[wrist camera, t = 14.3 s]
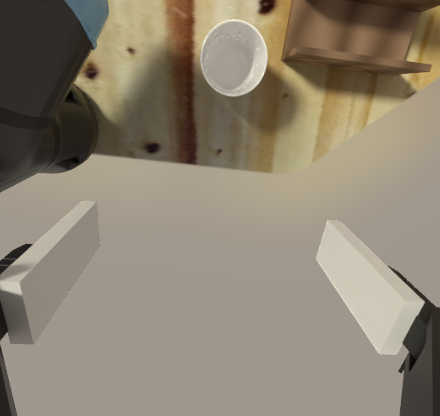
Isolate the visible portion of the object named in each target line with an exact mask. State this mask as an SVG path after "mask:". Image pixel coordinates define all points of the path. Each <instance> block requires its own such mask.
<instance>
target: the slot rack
mask: <svg viewBox="0 0 440 416" xmlns="http://www.w3.org/2000/svg"><path fill="white" fill-rule="evenodd" d="M439 5H440V0H292V3H291V8H290V14H289V19H288V25H287V31H286V36H285V42H284V47H283V53H282V59H281V60H283V61H290V62H298V63H305V64H312V65H319V66H327V67H334V68H341V69H349V70H356V71H363V72H371V73H378V74H385V75H399V74H408V73H420V72H430V69H431V66H432V65H430V64H423V63H416V62H409V61H404V58H405V55H406V52H407V49H408V46H409V43H410V40H411V37H412V34H413V31H414V28H415V25H416V22H417V19H418V17H419V14H420V12H423V11H425V10H428V9H431V8H434V7H437V6H439Z"/></svg>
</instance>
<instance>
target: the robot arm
mask: <svg viewBox="0 0 440 416" xmlns="http://www.w3.org/2000/svg"><path fill="white" fill-rule="evenodd" d="M108 14H109V6H108V0H0V192H2V191H4V190H6V189H8V188H10V187H12V186H14V185H15V184H17V183H19V182H21V181H23V180H25V179H27V178H29V177H31V176H33V175H35V174H37V173H61V172H65V171H69V170H71V169H73V168H75V167H77V166H78V165H80V164H82V163H83V162H84V161H85V160H87V159H88V158H89V156H90V155H91V154H92V152H93V150H94V148H95V146H96V142H97V137H98V126H97V120H96V116H95V113H94V111H93V108H92V106H91V105H90V103H89V101H88V100H87V98H86V97H85V95H84V94H83V93H82V92H81V91H80V90H79V89H78V88H77V87H76V86H75V85H74V82H75V80H76V78H77V76H78V74H79V73H80V71H81V69H82V67H83V65H84V63H85V62H86V60H87V58H88V56H89V54H90V52H91V50H95V49H96V47H97V42H96V41H97V39H98V37H99V35H100V33H101V31H102V29H103V27H104V25H105V22H106V20H107V18H108ZM99 246H100V241H99V227H98V214H97V202H93V201H81V202H80V203H79V204H77V206H75V207H74V208H73V209H72V210H71V211H70V212H69V213H68V214H66V215H65V216H64V217H63V218H62V219H61V220H60V221H59V222H58V223H57V224H55V225H54V226H53V227H52V228H51V229H50V230H49V231H48V232H47V233H46V234H44V235H43V236H42V237H41V238H40V239H39V240H38V241H37V242H36V243H34V244H25V245H23V246H21V247H19V248H16V249H14V250H13V251H11V252H10V253H9V254H8V255H7V256H5V257H4V259H2V260H1V261H0V340H1V339H2V338H3V337H4V335H5V334H6V333H7V332H8V335H9V339H10V343H11V344H34V343H35V342H36V340H37V339H38V337H39V336H40V334H41V333H42V331H43V330H44V328H45V327H46V325H47V324H48V322H49V321H50V319H51V318H52V316H53V315H54V313H55V312H56V310H57V309H58V307H59V306H60V304H61V303H62V301H63V300H64V298H65V297H66V295H67V294H68V292H69V291H70V289H71V288H72V286H73V285H74V283H75V282H76V280H77V279H78V277H79V276H80V274H81V273H82V271H83V270H84V268H85V267H86V265H87V264H88V262H89V261H90V259H91V258H92V256H93V255H94V253H95V252H96V250H97V249H98V247H99ZM316 260H317V262H318V263H319V265H320V266H321V268H322V269H323V270H324V272H325V274H326V275H327V276H328V278H329V280H330V281H331V283H332V284H333V286H334V287H335V289H336V290H337V292H338V293H339V295H340V296H341V298H342V299H343V301H344V302H345V304H346V305H347V307H348V308H349V310H350V311H351V313H352V314H353V316H354V317H355V318H356V320H357V322H358V323H359V325H360V326H361V328H362V329H363V330H364V332H365V334H366V335H367V337H368V338H369V340H370V341H371V343H372V344H373V346H374V347H375V349H376V350H377V352H378V353H379V354H393V355H395V354H397V353H398V351H399V349H400V347H401V346H402V344H404V345H405V347H406V348H407V349H408V351H409V353H408V355H407V357H406V359H405V360H404V362H403V364H402V366H401V368H400V369H399V372H400V373H402V372H403V370H404V378H403V388H402V398H401V407H400V416H440V308H439V307H435V305H433V304H432V303H431V302H430V301H429V300H428V299H427V298H426V297H425V296H424V295H423V294H422V293H421V292H419V291H418V290H417V289H416V288H414V286H413V285H412V284H411V283H410V282H409V281H407V279H406V278H404V277H403V276H402V275H401V274H400V273H399V272H398V271H396V270H394V269H392V268H391V267H389V266H387V265H386V264H385V263H384V262H382V261H381V260H380V259H379V258H378V257H377V256H376V255H375V254H374V253H373V252H372V251H371V250H370V249H369V248H368V247H367V246H366V245H365V244H364V243H363V242H362V241H360V240H359V239H358V238H357V237H356V236H355V235H354V234H353V233H352V232H351V231H350V230H349V229H348V228H347V227H346V226H345V225H344V224H343V223H342V222H341V221H336V220H328V221H327V223H326V227H325V230H324V233H323V237H322V240H321V243H320V247H319V250H318V253H317V257H316ZM0 416H17V413H16V408H15V404H14V400H13V396H12V392H11V387H10V383H9V379H8V375H7V371H6V367H5V362H4V358H3V354H2V350H1V346H0Z"/></svg>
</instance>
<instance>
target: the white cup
mask: <svg viewBox="0 0 440 416" xmlns="http://www.w3.org/2000/svg"><path fill="white" fill-rule="evenodd" d="M267 60H268V55H267V48H266V44H265V41H264V39H263V37H262V35H261V34H260V32H259V31H258V30H257V29H256V28H255V27H254V26H253V25H251V24H249V23H248V22H245V21H242V20H237V19H232V20H226V21H223V22H221V23H219V24H218V25H216V26H215V27H214V28H213V29H212V30H211V31H210V32H209V33H208V34H207V36H206V38H205V40H204V42H203V45H202V48H201V53H200V64H201V69H202V73H203V75H204V77H205V79H206V81H207V82H208V84H209V85H210V86H211V87H212V88H213V89H214V90H215V91H217V92H218V93H220V94H223V95H226V96H232V97H235V96H241V95H244V94H247V93H248V92H250V91H252V90H253V89H254V88H255V87H256V86H257V85H258V84H259V83H260V81H261V80H262V78H263V76H264V74H265V71H266V67H267Z"/></svg>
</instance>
